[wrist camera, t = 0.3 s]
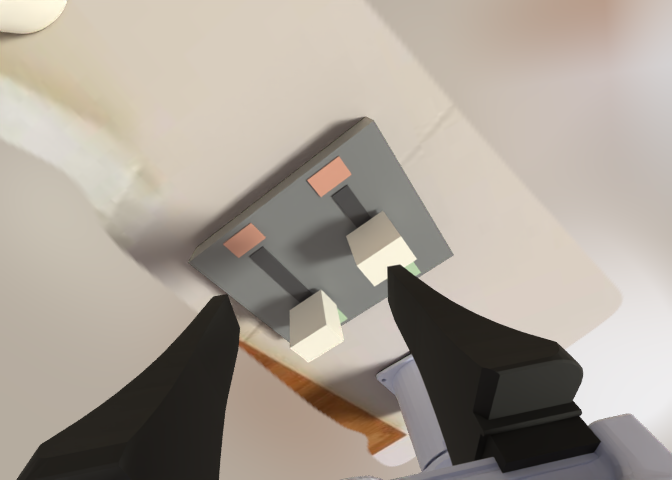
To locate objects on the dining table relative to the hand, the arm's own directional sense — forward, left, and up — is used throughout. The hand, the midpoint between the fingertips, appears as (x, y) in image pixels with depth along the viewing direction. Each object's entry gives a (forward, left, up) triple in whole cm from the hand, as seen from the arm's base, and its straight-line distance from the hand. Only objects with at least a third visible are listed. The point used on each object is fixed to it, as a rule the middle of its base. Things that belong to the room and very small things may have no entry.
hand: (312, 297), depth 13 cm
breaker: (-6, +4, -7) cm, 10 cm away
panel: (-3, 0, -9) cm, 10 cm away
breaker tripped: (-3, -3, -7) cm, 8 cm away
